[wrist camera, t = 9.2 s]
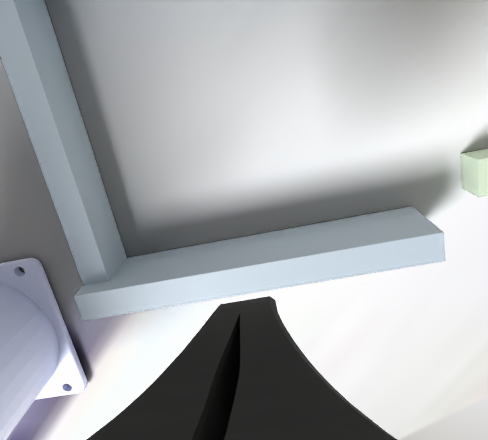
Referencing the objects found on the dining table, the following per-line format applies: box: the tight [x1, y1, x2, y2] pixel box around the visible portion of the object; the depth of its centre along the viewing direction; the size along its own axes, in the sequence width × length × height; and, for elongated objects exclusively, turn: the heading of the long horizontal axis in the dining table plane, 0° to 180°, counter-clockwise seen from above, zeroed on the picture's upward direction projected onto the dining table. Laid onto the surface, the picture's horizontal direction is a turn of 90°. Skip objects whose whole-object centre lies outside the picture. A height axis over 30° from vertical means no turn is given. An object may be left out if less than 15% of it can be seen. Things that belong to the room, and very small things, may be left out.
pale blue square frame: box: [0, 0, 445, 321], centre depth 16 cm, size 15×14×4 cm
